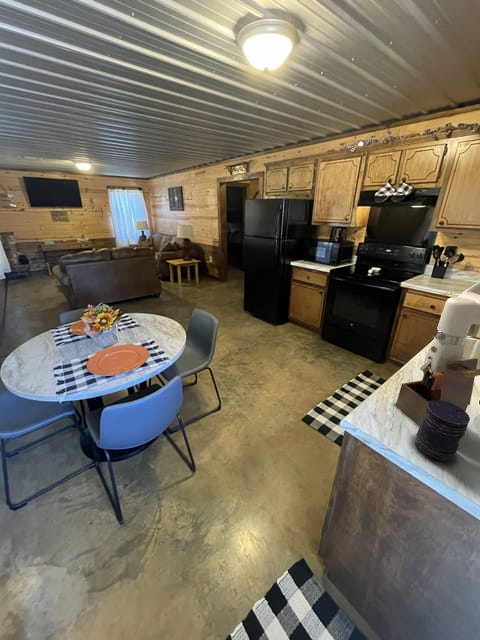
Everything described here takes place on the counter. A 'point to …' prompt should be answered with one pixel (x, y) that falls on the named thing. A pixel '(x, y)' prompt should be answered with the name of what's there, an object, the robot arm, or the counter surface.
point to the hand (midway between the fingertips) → (432, 384)
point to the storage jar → (441, 431)
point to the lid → (459, 381)
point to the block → (437, 381)
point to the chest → (417, 400)
